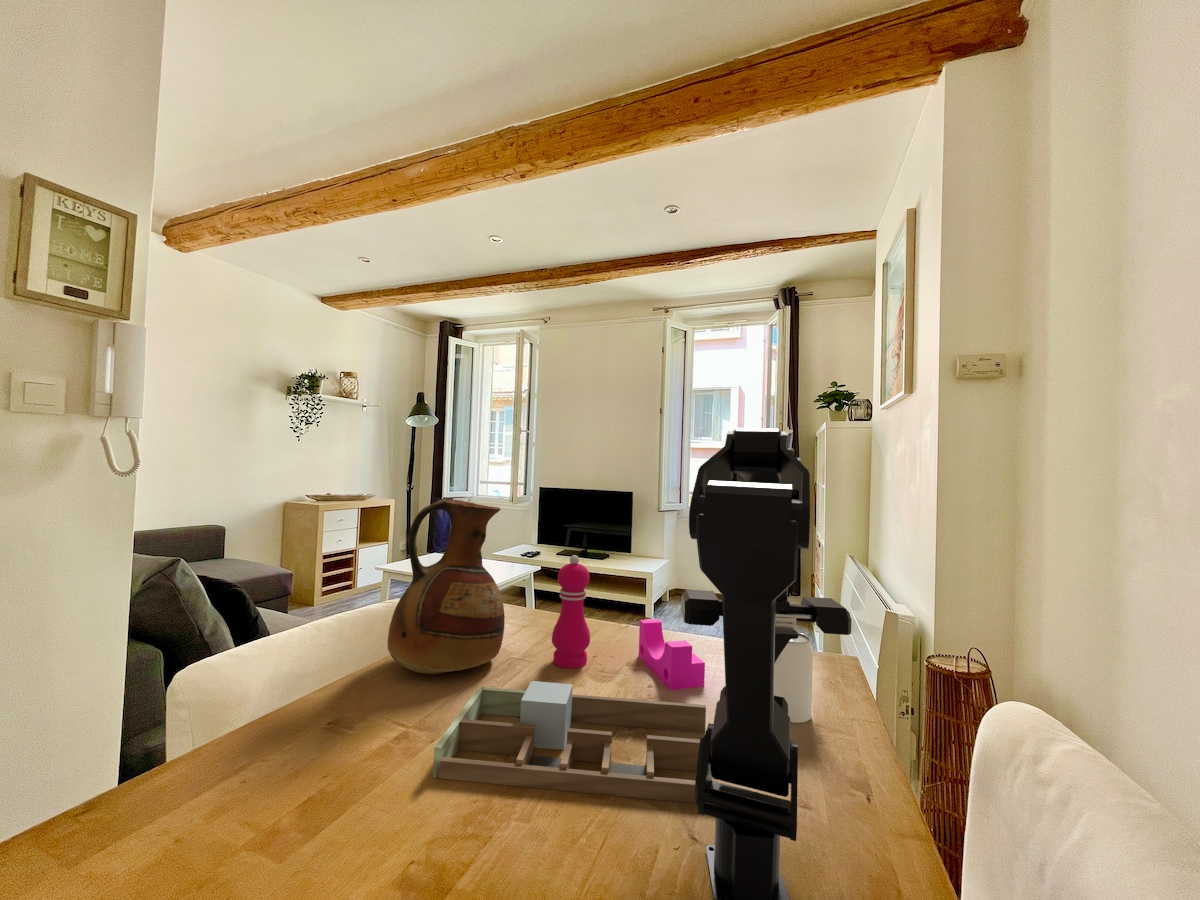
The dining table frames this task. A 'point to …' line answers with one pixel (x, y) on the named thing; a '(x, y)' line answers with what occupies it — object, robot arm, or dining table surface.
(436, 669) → the ceramic pitcher
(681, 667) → the toy block
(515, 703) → the wooden compartment tray
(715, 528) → the robot arm
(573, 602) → the pepper mill
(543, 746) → the cube
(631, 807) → the dining table surface
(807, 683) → the can
